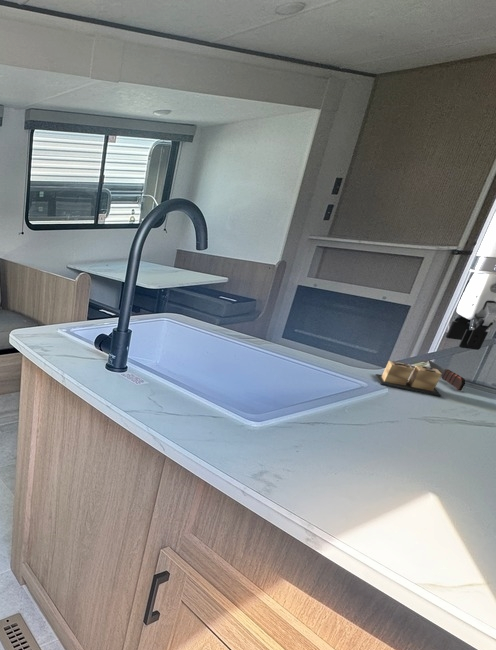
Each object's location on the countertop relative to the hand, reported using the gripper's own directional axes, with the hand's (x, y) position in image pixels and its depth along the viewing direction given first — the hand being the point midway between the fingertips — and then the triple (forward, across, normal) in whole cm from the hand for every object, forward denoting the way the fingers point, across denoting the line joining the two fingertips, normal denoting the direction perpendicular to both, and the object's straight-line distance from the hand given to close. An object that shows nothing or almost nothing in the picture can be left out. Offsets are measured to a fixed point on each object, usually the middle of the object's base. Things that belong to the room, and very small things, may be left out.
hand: (461, 343), depth 98 cm
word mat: (+12, +2, +5) cm, 14 cm away
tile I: (+12, +2, +3) cm, 13 cm away
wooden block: (+12, +2, +8) cm, 15 cm away
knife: (+13, +15, -4) cm, 20 cm away
